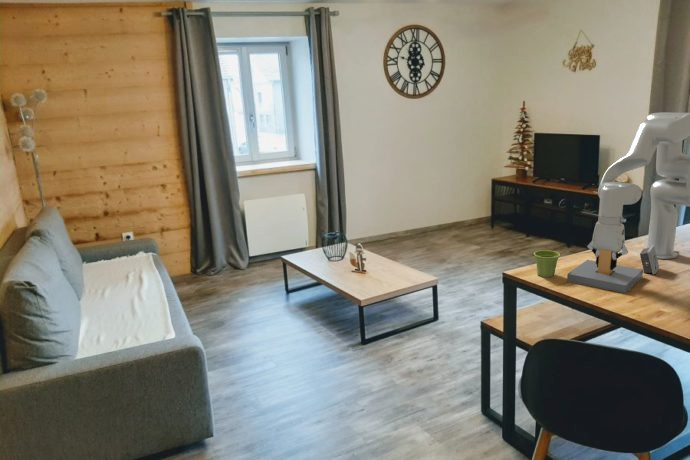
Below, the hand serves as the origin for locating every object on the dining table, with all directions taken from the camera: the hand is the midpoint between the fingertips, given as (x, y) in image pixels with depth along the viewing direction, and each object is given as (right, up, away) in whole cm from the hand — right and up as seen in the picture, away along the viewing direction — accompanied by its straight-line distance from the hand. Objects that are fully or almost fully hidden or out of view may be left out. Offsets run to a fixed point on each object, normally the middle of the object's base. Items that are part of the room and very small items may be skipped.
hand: (605, 267), depth 192 cm
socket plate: (0, -5, +1) cm, 5 cm away
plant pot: (-19, -4, +9) cm, 21 cm away
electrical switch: (+21, -2, +8) cm, 22 cm away
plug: (0, -3, +1) cm, 3 cm away
